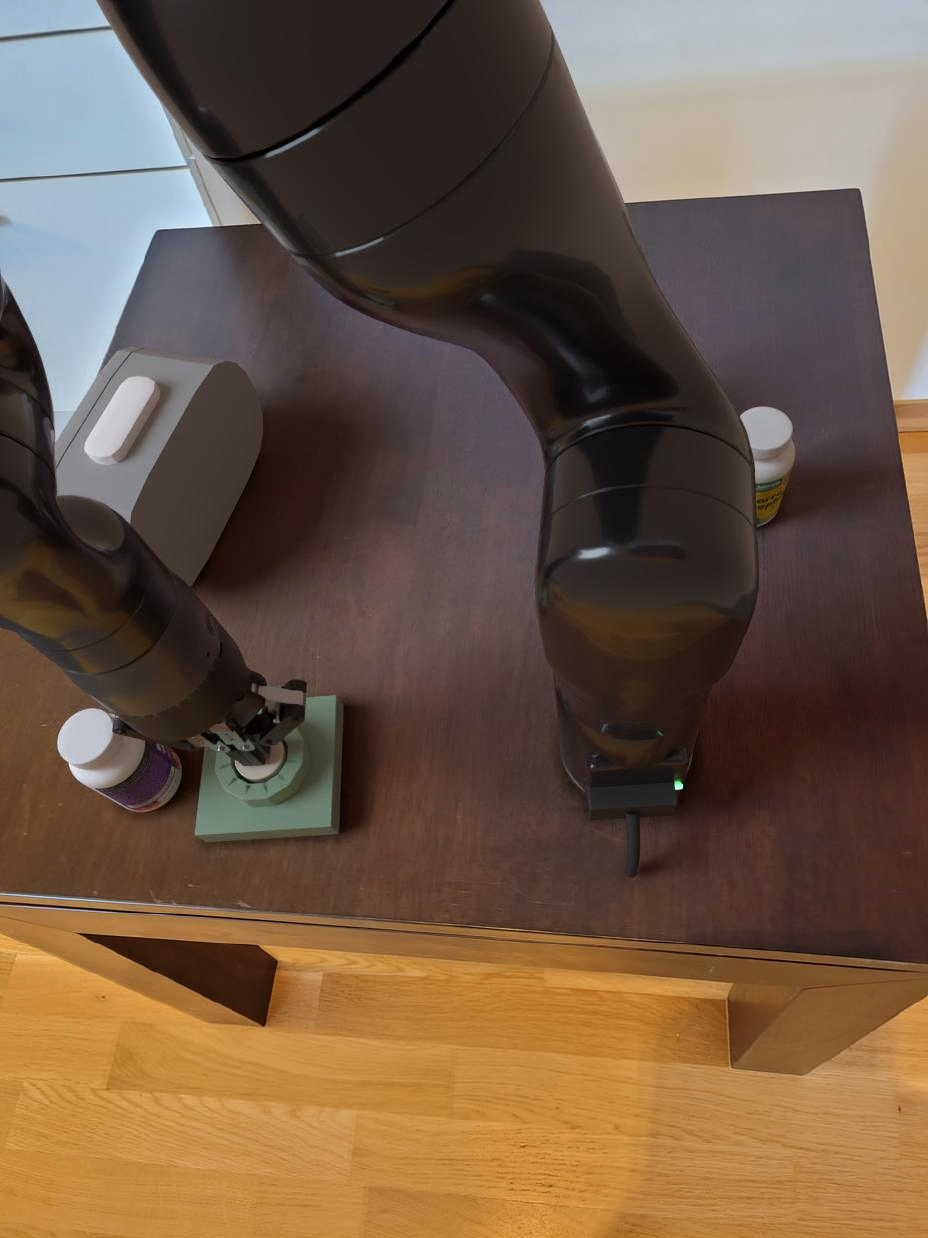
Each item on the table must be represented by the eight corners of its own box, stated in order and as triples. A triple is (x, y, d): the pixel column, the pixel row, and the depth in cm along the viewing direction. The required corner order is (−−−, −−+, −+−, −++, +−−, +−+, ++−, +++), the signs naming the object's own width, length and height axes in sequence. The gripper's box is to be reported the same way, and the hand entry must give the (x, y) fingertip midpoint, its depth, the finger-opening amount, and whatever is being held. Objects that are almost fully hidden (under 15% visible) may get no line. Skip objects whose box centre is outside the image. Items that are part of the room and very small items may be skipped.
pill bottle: (196, 757, 67) (138, 711, 59) (162, 823, 65) (97, 785, 56) (138, 736, 69) (73, 689, 60) (103, 801, 66) (31, 760, 58)
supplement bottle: (747, 465, 73) (767, 386, 64) (793, 507, 70) (820, 430, 62) (697, 499, 72) (710, 423, 64) (741, 542, 70) (762, 469, 61)
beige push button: (289, 784, 63) (281, 777, 61) (240, 788, 63) (231, 780, 61) (292, 737, 64) (284, 728, 63) (245, 740, 65) (236, 732, 63)
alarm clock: (189, 417, 84) (123, 309, 72) (277, 432, 81) (223, 324, 70) (87, 599, 75) (-8, 511, 64) (181, 623, 73) (101, 536, 61)
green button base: (339, 834, 63) (324, 820, 59) (206, 842, 64) (183, 829, 60) (343, 705, 68) (330, 685, 64) (219, 715, 69) (199, 695, 65)
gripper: (18, 723, 46) (161, 810, 61) (262, 705, 45) (345, 798, 60) (46, 598, 49) (174, 710, 65) (272, 578, 48) (349, 697, 63)
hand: (256, 752), depth 62 cm, fingers closed
